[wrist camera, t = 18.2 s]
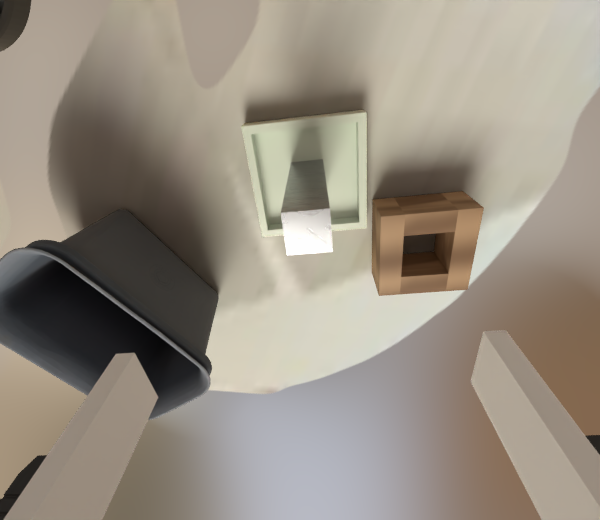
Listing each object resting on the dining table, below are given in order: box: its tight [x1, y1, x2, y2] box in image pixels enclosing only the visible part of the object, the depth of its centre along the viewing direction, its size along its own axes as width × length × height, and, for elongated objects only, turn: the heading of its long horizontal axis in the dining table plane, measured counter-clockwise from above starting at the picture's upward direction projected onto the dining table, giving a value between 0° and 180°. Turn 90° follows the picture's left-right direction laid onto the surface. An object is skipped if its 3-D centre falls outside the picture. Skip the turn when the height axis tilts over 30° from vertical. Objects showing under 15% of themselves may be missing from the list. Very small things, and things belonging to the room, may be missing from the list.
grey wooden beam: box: [281, 159, 333, 256], centre depth 29 cm, size 3×3×14 cm
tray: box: [241, 110, 367, 237], centre depth 34 cm, size 12×12×2 cm
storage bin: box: [0, 209, 218, 420], centre depth 36 cm, size 21×16×14 cm
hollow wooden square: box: [372, 191, 484, 296], centre depth 36 cm, size 10×10×5 cm
